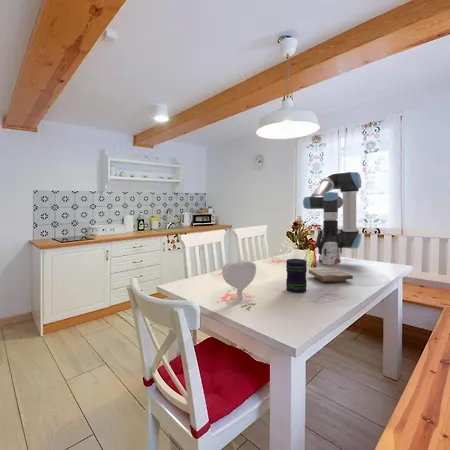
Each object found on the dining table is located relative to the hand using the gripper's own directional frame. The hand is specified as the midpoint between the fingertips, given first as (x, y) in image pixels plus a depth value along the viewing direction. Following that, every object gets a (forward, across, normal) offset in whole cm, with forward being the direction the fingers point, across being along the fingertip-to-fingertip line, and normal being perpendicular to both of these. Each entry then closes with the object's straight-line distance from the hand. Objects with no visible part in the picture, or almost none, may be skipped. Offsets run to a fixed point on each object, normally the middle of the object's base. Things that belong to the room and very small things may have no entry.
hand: (330, 259), depth 152 cm
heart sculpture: (+12, -57, -24) cm, 63 cm away
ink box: (+2, 0, 0) cm, 2 cm away
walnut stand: (+11, 0, 0) cm, 11 cm away
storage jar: (+12, -26, -14) cm, 32 cm away
